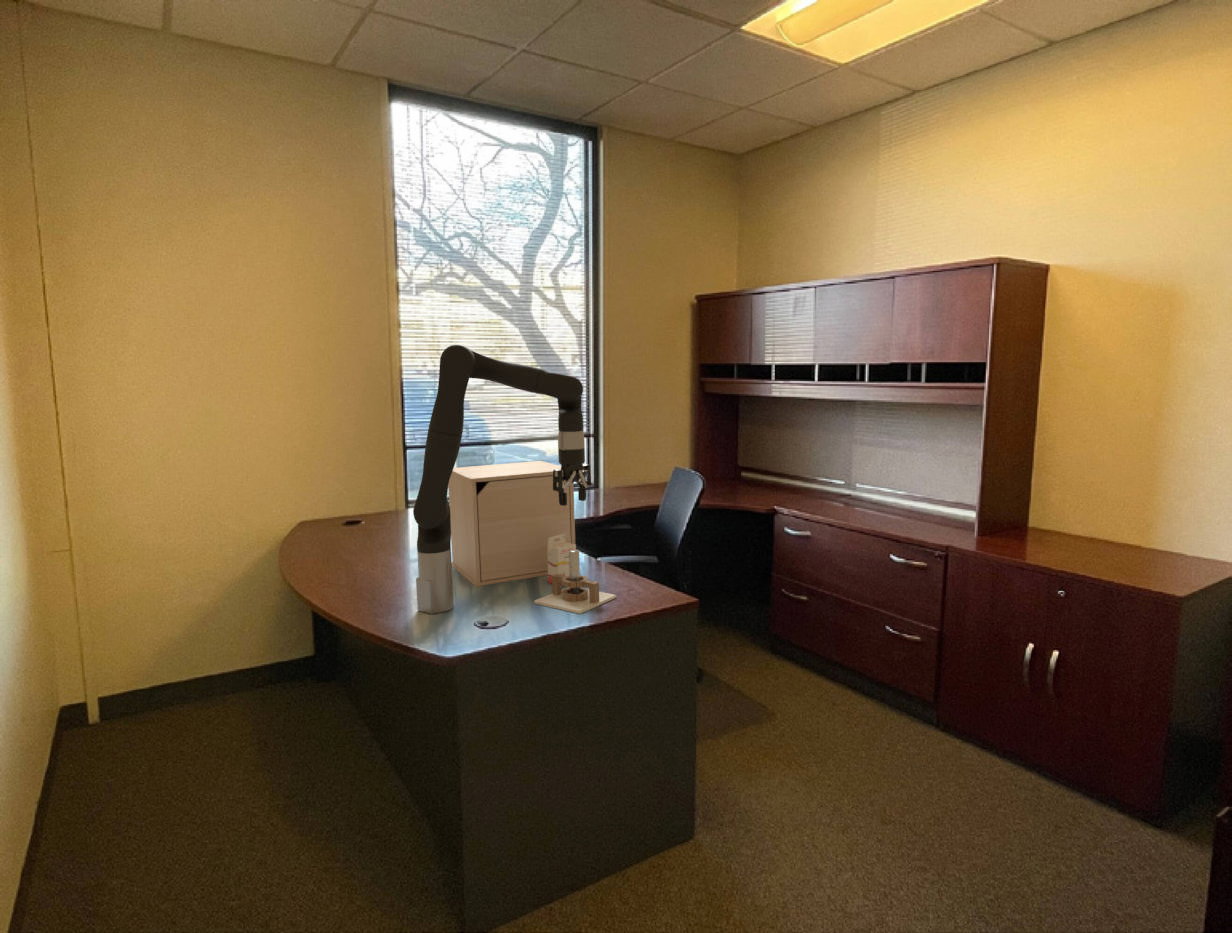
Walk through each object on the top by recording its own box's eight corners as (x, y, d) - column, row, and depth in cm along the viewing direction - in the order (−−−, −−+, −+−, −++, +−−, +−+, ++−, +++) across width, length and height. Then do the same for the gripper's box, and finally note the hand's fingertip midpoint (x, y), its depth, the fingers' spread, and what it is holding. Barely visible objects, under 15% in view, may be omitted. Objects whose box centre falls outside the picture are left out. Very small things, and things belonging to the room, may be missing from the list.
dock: (579, 613, 199) (579, 591, 198) (534, 603, 209) (533, 581, 208) (616, 597, 213) (615, 576, 212) (571, 588, 223) (571, 567, 222)
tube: (576, 600, 209) (574, 553, 207) (568, 598, 210) (566, 551, 209) (582, 597, 211) (581, 550, 209) (574, 595, 213) (573, 549, 211)
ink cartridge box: (559, 585, 226) (557, 539, 224) (547, 583, 229) (546, 537, 227) (577, 579, 232) (576, 534, 230) (566, 576, 236) (564, 532, 234)
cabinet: (475, 586, 227) (470, 478, 222) (451, 565, 253) (446, 468, 248) (576, 570, 243) (573, 469, 238) (544, 552, 269) (541, 460, 264)
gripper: (577, 443, 213) (578, 498, 215) (544, 448, 201) (546, 505, 204) (597, 445, 208) (598, 500, 211) (565, 450, 197) (566, 508, 199)
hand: (572, 502), depth 207 cm, fingers open, 8 cm apart
